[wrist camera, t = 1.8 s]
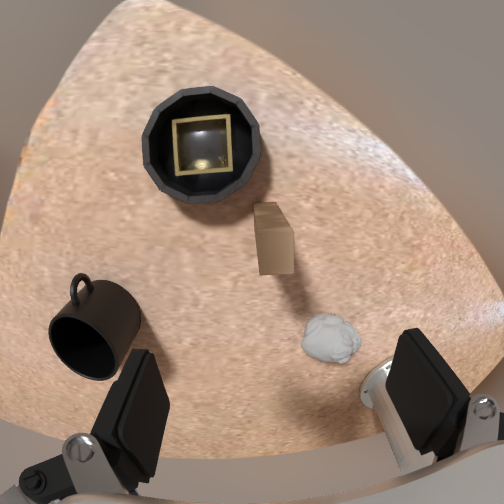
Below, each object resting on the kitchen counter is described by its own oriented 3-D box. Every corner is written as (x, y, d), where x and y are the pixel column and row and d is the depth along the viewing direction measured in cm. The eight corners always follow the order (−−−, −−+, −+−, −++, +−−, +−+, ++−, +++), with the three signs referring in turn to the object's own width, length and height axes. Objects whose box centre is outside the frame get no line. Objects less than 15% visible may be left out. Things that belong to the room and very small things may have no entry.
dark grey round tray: (255, 90, 26) (257, 83, 23) (260, 194, 30) (262, 199, 27) (151, 101, 26) (140, 96, 23) (157, 201, 30) (147, 207, 27)
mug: (126, 256, 32) (92, 290, 24) (149, 339, 36) (129, 384, 28) (67, 262, 32) (28, 292, 24) (93, 337, 36) (67, 377, 28)
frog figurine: (344, 337, 37) (360, 371, 30) (294, 342, 37) (302, 378, 30) (350, 299, 35) (370, 330, 28) (296, 303, 35) (307, 336, 28)
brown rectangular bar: (275, 202, 30) (294, 232, 19) (276, 229, 31) (294, 273, 20) (253, 202, 30) (258, 233, 19) (254, 230, 31) (259, 275, 20)
